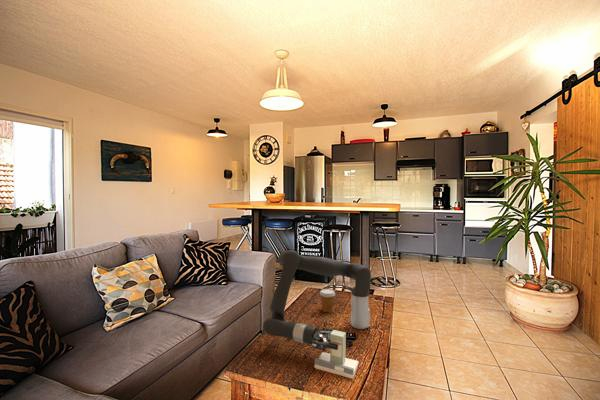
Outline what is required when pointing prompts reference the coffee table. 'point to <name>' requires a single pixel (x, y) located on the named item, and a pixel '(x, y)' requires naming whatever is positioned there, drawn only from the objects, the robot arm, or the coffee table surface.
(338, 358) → the tea box
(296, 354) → the coffee table surface
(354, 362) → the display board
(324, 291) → the disposable coffee cup
